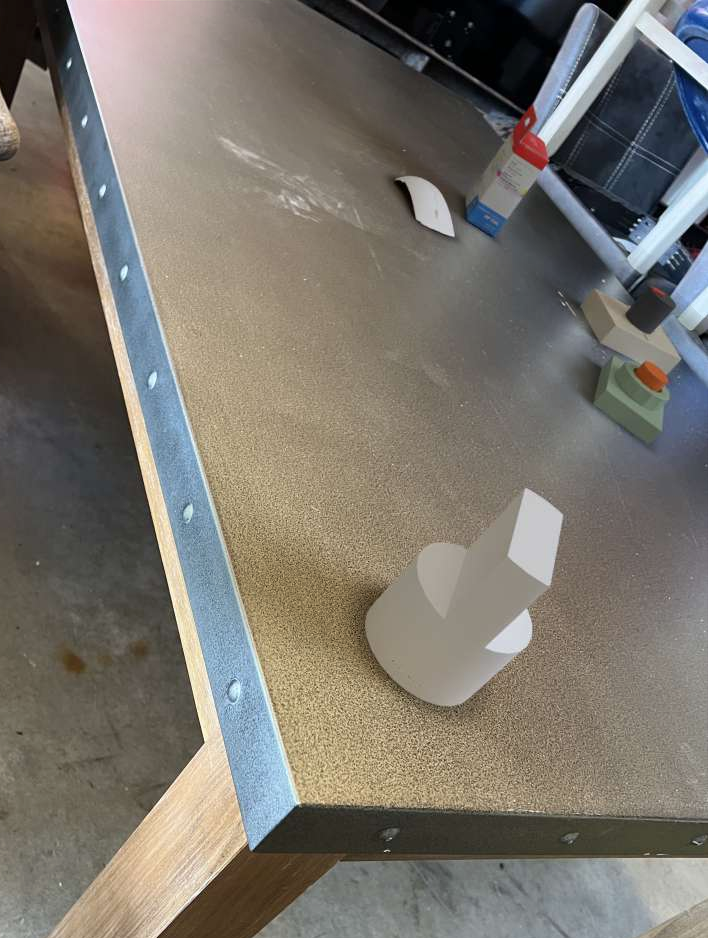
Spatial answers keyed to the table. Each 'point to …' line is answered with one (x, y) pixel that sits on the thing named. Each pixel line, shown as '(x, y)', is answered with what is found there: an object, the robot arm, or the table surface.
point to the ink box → (507, 177)
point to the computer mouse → (429, 205)
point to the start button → (651, 376)
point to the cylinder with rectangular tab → (466, 605)
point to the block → (630, 399)
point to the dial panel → (627, 332)
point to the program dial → (650, 309)
